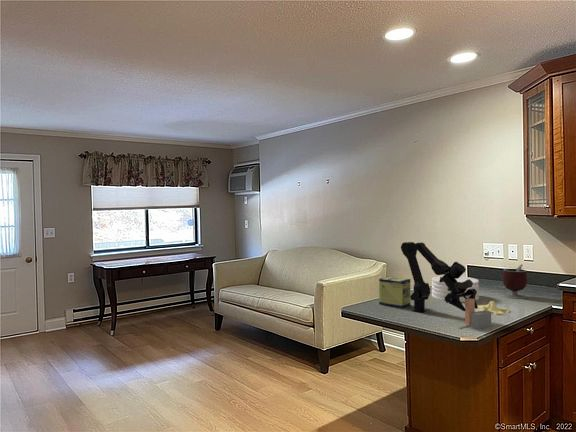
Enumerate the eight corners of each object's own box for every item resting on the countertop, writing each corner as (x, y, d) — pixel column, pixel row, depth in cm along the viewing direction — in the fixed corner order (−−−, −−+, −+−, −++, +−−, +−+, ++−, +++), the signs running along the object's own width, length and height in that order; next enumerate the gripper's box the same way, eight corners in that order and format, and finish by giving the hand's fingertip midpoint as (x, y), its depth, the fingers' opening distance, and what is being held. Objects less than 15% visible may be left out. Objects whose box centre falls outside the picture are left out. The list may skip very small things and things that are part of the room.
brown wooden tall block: (465, 323, 216) (465, 299, 216) (470, 322, 218) (470, 298, 218) (469, 324, 214) (469, 300, 214) (474, 323, 216) (474, 299, 216)
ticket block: (457, 328, 208) (457, 313, 208) (480, 323, 217) (480, 309, 217) (468, 331, 203) (468, 316, 203) (491, 326, 212) (491, 311, 212)
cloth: (479, 306, 256) (479, 295, 256) (514, 310, 244) (514, 299, 244) (465, 313, 240) (465, 302, 240) (502, 318, 227) (502, 307, 227)
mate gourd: (519, 300, 269) (519, 267, 268) (498, 296, 280) (498, 265, 280) (533, 297, 277) (533, 265, 277) (511, 293, 289) (511, 263, 288)
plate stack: (449, 291, 299) (449, 274, 299) (488, 298, 276) (488, 280, 275) (422, 296, 284) (422, 278, 283) (460, 304, 260) (460, 284, 260)
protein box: (402, 308, 251) (402, 281, 250) (378, 304, 261) (378, 278, 261) (411, 305, 258) (411, 278, 258) (387, 301, 269) (387, 276, 269)
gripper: (449, 276, 215) (468, 302, 206) (473, 272, 225) (493, 297, 215) (436, 289, 222) (454, 315, 213) (460, 285, 232) (479, 310, 222)
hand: (471, 309), depth 216 cm, fingers open, 9 cm apart
